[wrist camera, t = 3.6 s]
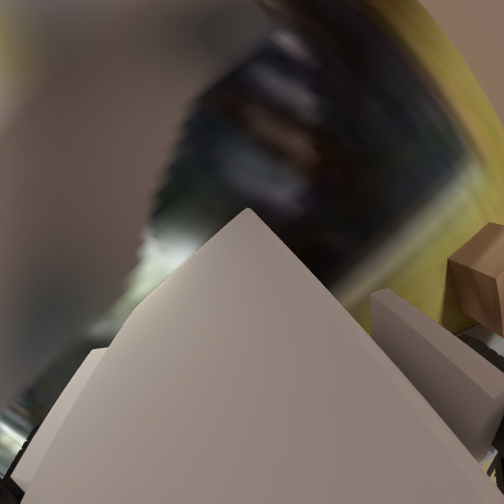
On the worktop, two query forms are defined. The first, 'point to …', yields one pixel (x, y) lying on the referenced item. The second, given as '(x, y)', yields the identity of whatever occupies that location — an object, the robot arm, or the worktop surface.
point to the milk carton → (251, 399)
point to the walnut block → (482, 277)
